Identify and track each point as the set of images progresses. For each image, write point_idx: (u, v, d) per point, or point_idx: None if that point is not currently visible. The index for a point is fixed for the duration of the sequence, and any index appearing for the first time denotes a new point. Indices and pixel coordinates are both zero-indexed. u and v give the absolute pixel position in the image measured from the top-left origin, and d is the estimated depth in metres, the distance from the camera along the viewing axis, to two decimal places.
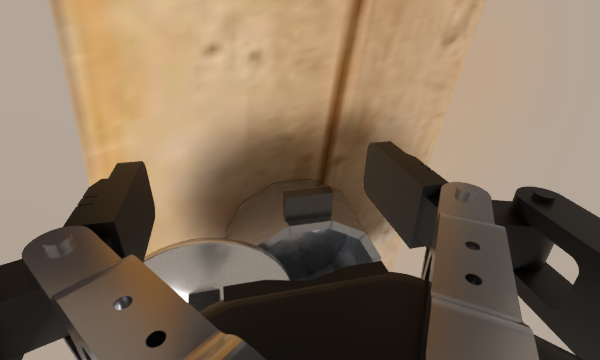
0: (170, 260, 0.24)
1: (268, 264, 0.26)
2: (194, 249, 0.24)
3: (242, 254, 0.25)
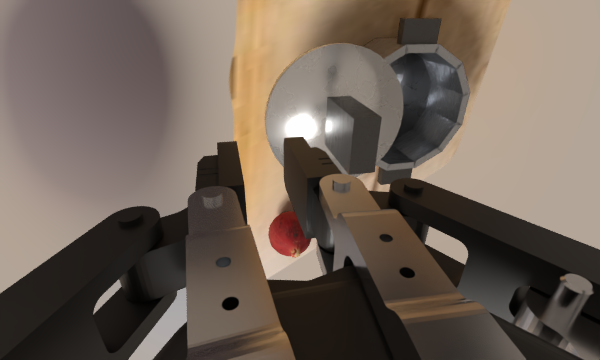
0: (321, 56, 0.30)
1: (390, 74, 0.32)
2: (340, 47, 0.30)
3: (373, 59, 0.31)
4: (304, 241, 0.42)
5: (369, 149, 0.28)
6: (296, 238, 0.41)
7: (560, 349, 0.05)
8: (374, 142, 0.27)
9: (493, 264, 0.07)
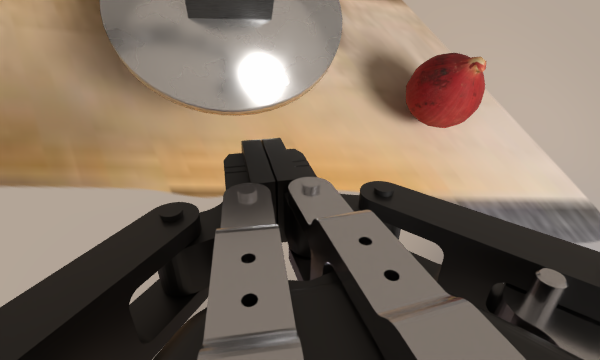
0: (119, 27, 0.19)
1: None
2: (105, 1, 0.19)
3: None
4: (454, 56, 0.25)
5: None
6: (450, 68, 0.24)
7: (549, 350, 0.05)
8: None
9: (469, 263, 0.07)
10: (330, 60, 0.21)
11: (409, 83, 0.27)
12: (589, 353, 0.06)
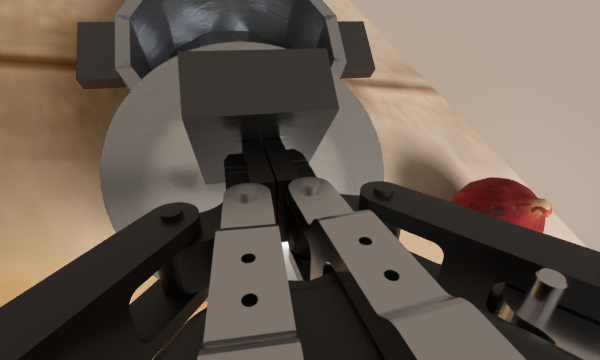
0: (124, 207, 0.15)
1: (160, 74, 0.18)
2: (107, 173, 0.16)
3: (131, 109, 0.17)
4: (509, 190, 0.21)
5: (266, 67, 0.11)
6: (507, 208, 0.21)
7: (549, 350, 0.05)
8: (246, 59, 0.11)
9: (469, 264, 0.07)
10: None
11: None
12: (589, 353, 0.06)
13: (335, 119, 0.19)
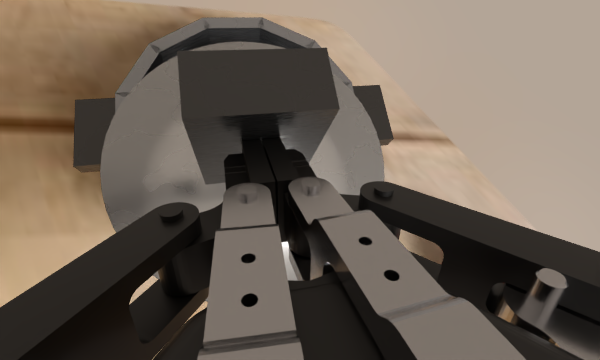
0: (124, 208, 0.15)
1: (160, 75, 0.18)
2: (107, 173, 0.16)
3: (131, 109, 0.17)
4: None
5: (266, 67, 0.11)
6: None
7: (549, 350, 0.05)
8: (246, 59, 0.11)
9: (469, 264, 0.07)
10: None
11: None
12: (589, 353, 0.06)
13: (335, 119, 0.19)
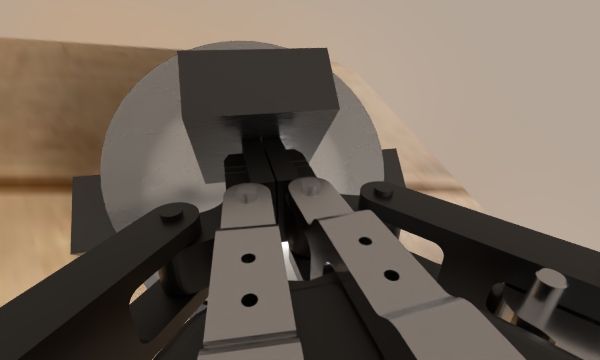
0: (124, 207, 0.15)
1: (160, 74, 0.18)
2: (107, 172, 0.16)
3: (131, 108, 0.17)
4: None
5: (267, 66, 0.11)
6: None
7: (549, 350, 0.05)
8: (246, 58, 0.11)
9: (469, 264, 0.07)
10: None
11: None
12: (589, 353, 0.06)
13: (335, 119, 0.19)
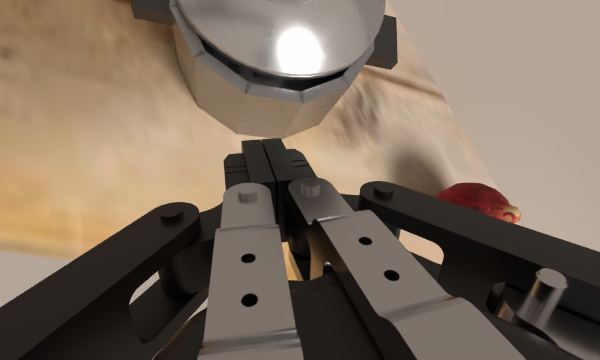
0: None
1: None
2: None
3: None
4: (489, 195, 0.24)
5: None
6: (483, 209, 0.24)
7: (549, 350, 0.05)
8: None
9: (469, 264, 0.07)
10: (367, 46, 0.22)
11: None
12: (589, 353, 0.06)
13: None
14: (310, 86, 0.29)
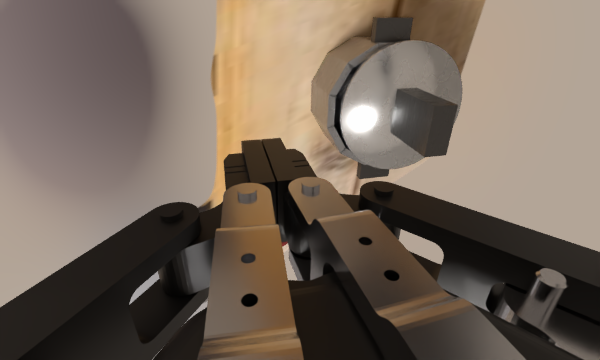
0: (396, 51, 0.34)
1: (453, 68, 0.36)
2: (413, 43, 0.34)
3: (440, 55, 0.35)
4: None
5: (444, 134, 0.31)
6: None
7: (549, 350, 0.05)
8: (449, 127, 0.31)
9: (469, 264, 0.07)
10: (363, 161, 0.39)
11: None
12: (589, 353, 0.06)
13: (411, 150, 0.40)
14: None
